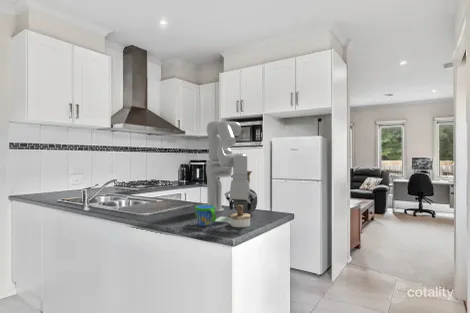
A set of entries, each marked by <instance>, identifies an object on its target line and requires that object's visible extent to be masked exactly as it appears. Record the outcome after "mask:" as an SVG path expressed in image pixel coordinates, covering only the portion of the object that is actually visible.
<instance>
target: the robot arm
mask: <svg viewBox="0 0 470 313" xmlns="http://www.w3.org/2000/svg"><path fill="white" fill-rule="evenodd" d="M241 126H242V125H241V124H240V123H239V122H237V121H227V120H226V121H224V120H223V121H210V122H208V123H207V126H206V134H207V137H208V159H209V161H210V162H214V163H209V164H207V165H206V167H205V174H206V181H207V183H206V185H207V186H206V187H207V188H206V189H207V191H206V192H207V196H206V197H207V198H206V200H207V203H202V204H201V205H213V206H215V210H214V211H215V213H216V212H224V211H225V208H223V207H222V203H223V202H222V199H223V198H222V194H223V193H222V182H221V181H220V179H219V178H229V177H230V178H232V179H231V181H230V189H229V191H227V192H225V193H224V196H225V198H226V201H228V204H229V205H228V207H229V210H230V211H232V210H233V209H234V205H233V199H240V200H247V201H248V204H247V210H248V211H249V210H250V209H251V202H252V201H253V200H254V199H255V197H256V195H257V193H256V194H254V193H252V192H251V191H250V189H251V188H250V182H249V181H248V180H247V171H248V156H247V154H244V153H243V154H242V153H233V151H232V149H231V148H233V146H234V145H235V144H236V141H237V140H236V139H237V138H236V137H235V136H237V137H238V136H239V135H240V134H241V133H242V127H241ZM216 162H218V163H216ZM250 195H252V196H253V197H252V199H250Z"/></svg>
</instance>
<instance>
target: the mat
mask: <svg viewBox="0 0 470 313" xmlns="http://www.w3.org/2000/svg"><path fill="white" fill-rule="evenodd" d="M214 222H217V223H218V222H220V223H229V224H230V216H229V217H228V216H219V217H218V218H217V217H216V220H215V221H214Z"/></svg>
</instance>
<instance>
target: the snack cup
mask: <svg viewBox="0 0 470 313" xmlns="http://www.w3.org/2000/svg"><path fill="white" fill-rule="evenodd" d="M194 209H195V212H194V216H195V217H196V219H197V225H198V226H201V227H209V226H212V225H213V223H214V222H216V221H215V220H216V219H217V217H216V212H215V211H214V210H215V206H213V205H202V204H200V205H196V206H195V207H194Z"/></svg>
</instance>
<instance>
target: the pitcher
mask: <svg viewBox="0 0 470 313" xmlns="http://www.w3.org/2000/svg"><path fill="white" fill-rule="evenodd" d="M252 173H253V171H251V170H247V180H248V181H249V183H251V180H250V178H251V177H250V176H251V174H252ZM250 191H251V192H252V193H254V194H256V197H255V199H254V200H253V201H252V202H251V209H250V210H249V211H248V210H247V204H248V201H247V200H240V199H233V200H232V201H233V209H234V210H235V211H236V212H237V205H243V213H247V214H250V217H251V216H252V213H254V211H255V210H256V208H257V205H258V196H257V193H256V192H255V191H254V190H253V189H252V188H250ZM252 197H253V196H252V195H250V199H252Z"/></svg>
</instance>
